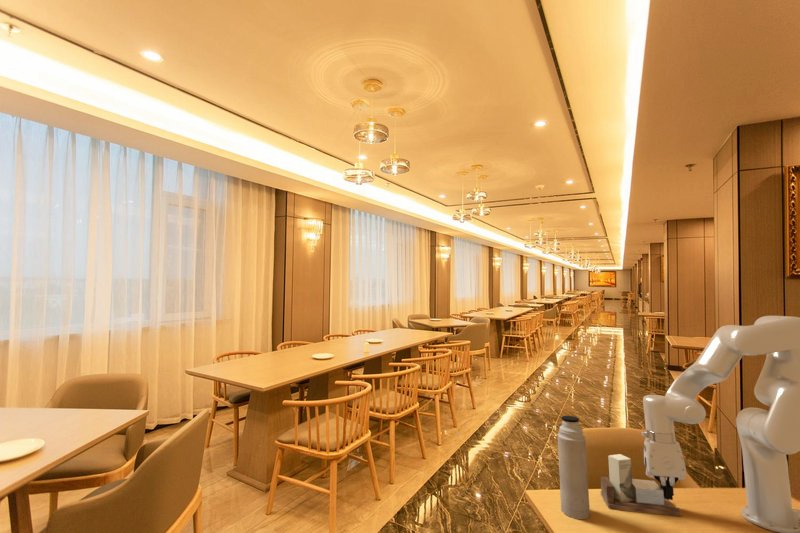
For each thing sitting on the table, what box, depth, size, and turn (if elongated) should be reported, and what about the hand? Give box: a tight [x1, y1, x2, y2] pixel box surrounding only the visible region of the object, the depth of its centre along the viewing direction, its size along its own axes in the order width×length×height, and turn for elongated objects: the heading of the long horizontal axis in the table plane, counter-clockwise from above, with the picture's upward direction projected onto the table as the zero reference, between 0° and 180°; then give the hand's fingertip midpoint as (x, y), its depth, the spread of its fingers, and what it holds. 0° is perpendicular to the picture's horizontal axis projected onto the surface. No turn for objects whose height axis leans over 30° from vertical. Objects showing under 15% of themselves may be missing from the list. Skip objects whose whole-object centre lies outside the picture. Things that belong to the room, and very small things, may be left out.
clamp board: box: [600, 476, 682, 517], centre depth 117 cm, size 20×8×6 cm, turn 76°
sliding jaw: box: [632, 478, 664, 506], centre depth 117 cm, size 8×6×5 cm
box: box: [607, 453, 633, 502], centre depth 119 cm, size 5×4×13 cm
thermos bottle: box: [557, 415, 590, 520], centre depth 115 cm, size 8×8×28 cm
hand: (667, 497), depth 115 cm, fingers closed
